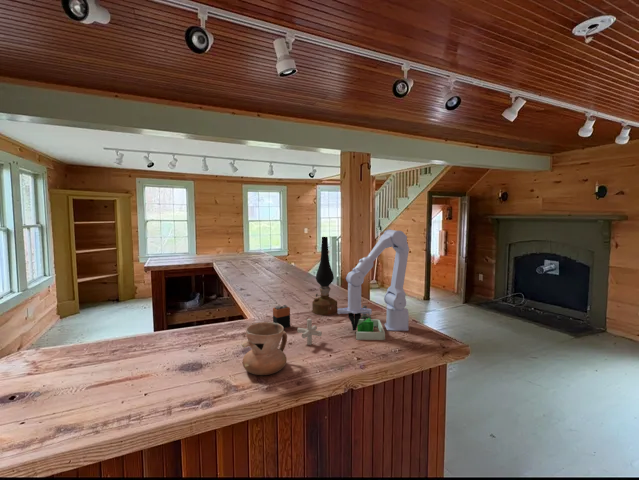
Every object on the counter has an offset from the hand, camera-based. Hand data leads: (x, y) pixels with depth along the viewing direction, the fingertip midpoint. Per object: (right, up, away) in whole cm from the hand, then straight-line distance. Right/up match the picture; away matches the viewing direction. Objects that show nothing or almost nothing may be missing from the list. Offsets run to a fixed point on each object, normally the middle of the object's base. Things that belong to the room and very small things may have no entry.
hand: (354, 329), depth 139 cm
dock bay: (+6, -1, 0) cm, 6 cm away
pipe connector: (-19, -2, -12) cm, 23 cm away
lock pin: (+7, +2, +14) cm, 15 cm away
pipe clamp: (+5, -1, 0) cm, 6 cm away
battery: (-32, -1, +7) cm, 33 cm away
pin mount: (+7, 0, +11) cm, 13 cm away
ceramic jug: (-33, -4, -31) cm, 46 cm away
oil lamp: (-12, +1, +30) cm, 32 cm away
